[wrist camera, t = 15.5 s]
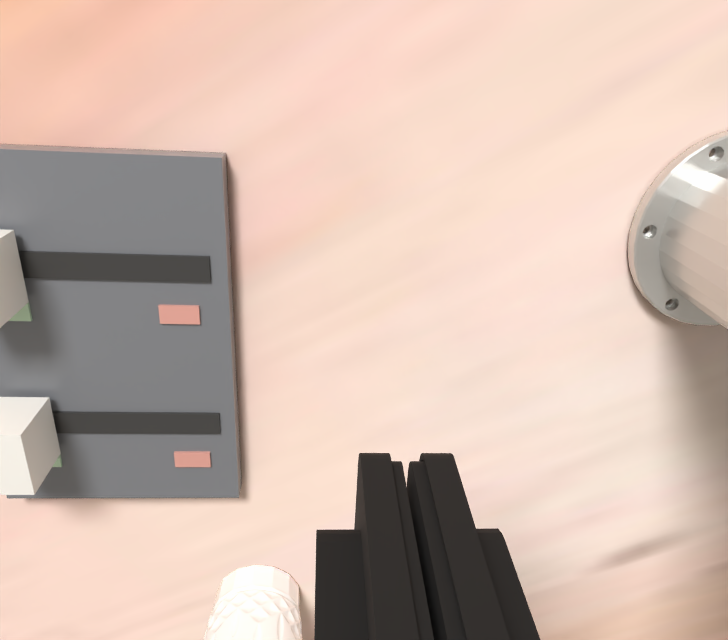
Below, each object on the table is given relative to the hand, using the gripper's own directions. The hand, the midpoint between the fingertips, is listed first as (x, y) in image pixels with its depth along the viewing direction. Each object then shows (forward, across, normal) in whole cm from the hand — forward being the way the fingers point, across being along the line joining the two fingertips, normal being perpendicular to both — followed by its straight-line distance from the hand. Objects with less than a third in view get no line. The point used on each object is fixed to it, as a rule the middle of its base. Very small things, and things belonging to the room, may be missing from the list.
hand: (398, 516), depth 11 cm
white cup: (+27, +6, +34) cm, 44 cm away
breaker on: (+25, +20, +16) cm, 36 cm away
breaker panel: (+27, +15, +10) cm, 33 cm away
